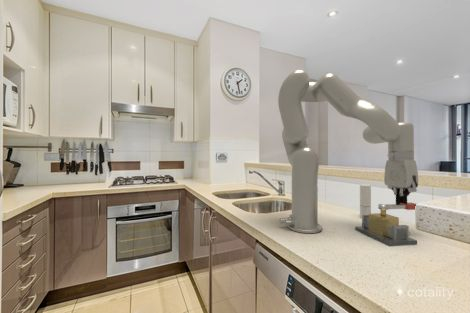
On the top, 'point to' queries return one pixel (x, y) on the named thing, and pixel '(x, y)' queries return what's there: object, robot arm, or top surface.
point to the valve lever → (397, 206)
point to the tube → (365, 199)
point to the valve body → (385, 229)
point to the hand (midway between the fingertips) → (401, 206)
